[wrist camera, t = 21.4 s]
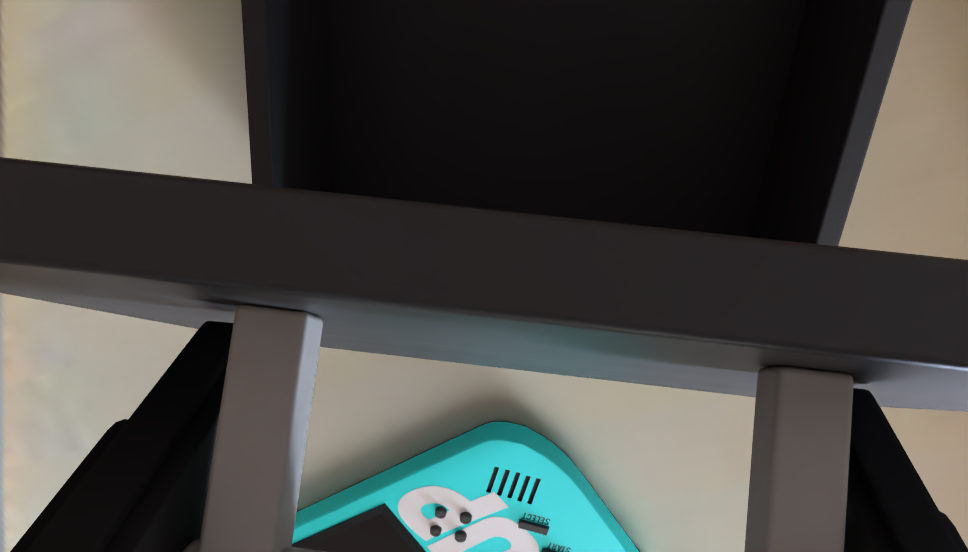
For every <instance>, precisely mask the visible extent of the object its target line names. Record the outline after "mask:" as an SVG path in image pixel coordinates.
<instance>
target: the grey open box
mask: <svg viewBox="0 0 968 552" xmlns="http://www.w3.org/2000/svg"><path fill="white" fill-rule="evenodd" d="M912 1H913V0H241V4H242V21H243V38H244V54H245V71H246V87H247V104H248V121H249V137H250V154H251V171H252V184H256V185H266V186H275V187H285V188H294V189H303V190H313V191H322V192H332V193H341V194H350V195H360V196H369V197H379V198H388V199H397V200H407V201H416V202H426V203H435V204H444V205H454V206H463V207H473V208H482V209H491V210H501V211H510V212H520V213H529V214H538V215H548V216H557V217H567V218H576V219H585V220H595V221H604V222H614V223H623V224H633V225H642V226H651V227H661V228H670V229H680V230H689V231H698V232H708V233H717V234H727V235H736V236H745V237H755V238H764V239H774V240H783V241H792V242H802V243H811V244H821V245H830V246H838V244H839V241H840V238H841V234H842V231H843V228H844V224H845V221H846V218H847V215H848V211H849V208H850V205H851V201H852V198H853V195H854V192H855V188H856V185H857V182H858V178H859V175H860V172H861V168H862V165H863V162H864V159H865V155H866V152H867V149H868V145H869V142H870V139H871V136H872V132H873V129H874V126H875V122H876V119H877V116H878V113H879V109H880V106H881V103H882V99H883V96H884V93H885V89H886V86H887V83H888V80H889V76H890V73H891V70H892V66H893V63H894V60H895V57H896V53H897V50H898V47H899V43H900V40H901V37H902V33H903V30H904V27H905V24H906V20H907V17H908V14H909V10H910V7H911V4H912Z"/></svg>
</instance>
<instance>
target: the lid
mask: <svg viewBox="0 0 968 552" xmlns="http://www.w3.org/2000/svg"><path fill="white" fill-rule="evenodd" d="M0 293H5V294H10V295H16V296H21V297H27V298H32V299H38V300H43V301H49V302H54V303H59V304H65V305H70V306H76V307H81V308H87V309H92V310H98V311H103V312H109V313H114V314H120V315H125V316H130V317H136V318H141V319H147V320H152V321H158V322H163V323H169V324H174V325H180V326H185V327H191V328H196V329H199V328H200V327H201V326H202V325H203V324H204V323H205V322H206V321H218V322H228V323H234V324H233V330H232V337H231V343H230V349H229V356H228V362H227V369H226V375H225V382H224V388H223V395H222V401H221V407H220V414H219V420H218V427H217V433H216V440H215V446H214V453H213V459H212V466H211V472H210V478H209V485H208V491H207V498H206V504H205V511H204V517H203V524H202V530H201V536H200V538H198V539H196V540H194V541H193V542H191V543H190V544H189V545H188V546H187V547H186V548H185V550H184V551H183V552H327V551H320V550H312V549H304V548H296V547H291V546H292V539H293V532H294V525H295V518H296V511H297V504H298V497H299V490H300V483H301V476H302V468H303V461H304V454H305V447H306V440H307V433H308V426H309V419H310V412H311V405H312V398H313V391H314V383H315V376H316V369H317V362H318V355H319V348H320V347H327V348H335V349H344V350H352V351H361V352H370V353H378V354H387V355H396V356H404V357H413V358H421V359H430V360H439V361H447V362H456V363H465V364H473V365H482V366H490V367H499V368H508V369H516V370H525V371H534V372H542V373H551V374H559V375H568V376H577V377H585V378H594V379H603V380H611V381H620V382H628V383H637V384H646V385H654V386H663V387H672V388H680V389H689V390H697V391H706V392H715V393H723V394H732V395H741V396H749V397H756V403H755V417H754V431H753V444H752V458H751V472H750V486H749V499H748V513H747V527H746V540H745V552H844V541H845V524H846V507H847V489H848V472H849V455H850V438H851V421H852V403H853V388H858V389H866V390H869V391H870V392H871V394H872V395H873V396H874V398H875V399H876V401H877V403H878V405H879V406H880V407H893V408H911V409H929V410H947V411H965V412H968V260H962V259H952V258H943V257H933V256H924V255H915V254H905V253H896V252H886V251H877V250H868V249H858V248H849V247H839V246H830V245H821V244H811V243H802V242H792V241H783V240H774V239H764V238H755V237H745V236H736V235H727V234H717V233H708V232H698V231H689V230H680V229H670V228H661V227H651V226H642V225H633V224H623V223H614V222H604V221H595V220H585V219H576V218H567V217H557V216H548V215H538V214H529V213H520V212H510V211H501V210H491V209H482V208H473V207H463V206H454V205H444V204H435V203H426V202H416V201H407V200H397V199H388V198H379V197H369V196H360V195H350V194H341V193H332V192H322V191H313V190H303V189H294V188H285V187H275V186H266V185H256V184H247V183H238V182H228V181H219V180H209V179H200V178H191V177H181V176H172V175H162V174H153V173H144V172H134V171H125V170H115V169H106V168H97V167H87V166H78V165H68V164H59V163H50V162H40V161H31V160H21V159H12V158H3V157H0Z"/></svg>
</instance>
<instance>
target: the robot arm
mask: <svg viewBox="0 0 968 552" xmlns="http://www.w3.org/2000/svg"><path fill="white" fill-rule="evenodd" d="M233 324H234V323H228V322H218V321H206V322H205V323H204V324H203V325H202V326H201V327H200V328H199V329H198V331H197V332H196V333H195V335H194V336H193V337H192V338H191V340H190V341H189V342H188V344H187V345H186V346H185V347H184V349H183V350H182V351H181V353H180V354H179V355H178V356H177V358H176V359H175V360H174V362H173V363H172V364H171V365H170V367H169V368H168V369H167V371H166V372H165V373H164V374H163V376H162V377H161V378H160V380H159V381H158V382H157V383H156V385H155V386H154V387H153V389H152V390H151V391H150V392H149V394H148V395H147V396H146V398H145V399H144V400H143V401H142V403H141V404H140V405H139V407H138V408H137V409H136V410H135V412H134V413H133V414H132V416H131V417H130V418H129V419H128V420H126V419H124V420H121V421H118V422H116V423H115V424H114V425H113V426H111V427H110V428H109V429H108V430H107V431H106V433H105V434H104V435H103V436H102V438H101V439H100V440H99V441H98V443H97V444H96V445H95V446H94V448H93V449H92V450H91V451H90V453H89V454H88V455H87V456H86V458H85V459H84V460H83V461H82V463H81V464H80V465H79V466H78V468H77V469H76V470H75V471H74V473H73V474H72V475H71V476H70V478H69V479H68V480H67V481H66V483H65V484H64V485H63V486H62V488H61V489H60V490H59V491H58V493H57V494H56V495H55V496H54V498H53V499H52V500H51V501H50V503H49V504H48V505H47V506H46V508H45V509H44V510H43V511H42V513H41V514H40V515H39V516H38V518H37V519H36V520H35V521H34V523H33V524H32V525H31V526H30V528H29V529H28V530H27V531H26V533H25V534H24V535H23V536H22V538H21V539H20V540H19V541H18V543H17V544H16V545H15V546H14V548H13V549H12V550H11V551H10V552H183V551H184V550H185V548H186V547H187V546H188V545H189V544H190V543H191V542H193V541H194V540H196V539H198V538H200V536H201V530H202V524H203V517H204V511H205V504H206V498H207V491H208V485H209V478H210V472H211V466H212V459H213V453H214V446H215V440H216V433H217V427H218V420H219V414H220V407H221V401H222V395H223V388H224V382H225V375H226V369H227V362H228V356H229V349H230V343H231V337H232V330H233ZM844 552H968V549H967V547H966V545H965V543H964V542H963V540H962V538H961V537H960V535H959V533H958V531H957V530H956V528H955V526H954V525H953V523H952V522H951V521H950V520H949V518H948V517H947V516H946V515H945V514H944V513H942V512H940V511H939V510H938V508H937V506H936V505H935V503H934V501H933V499H932V498H931V496H930V494H929V492H928V491H927V489H926V487H925V485H924V484H923V482H922V480H921V478H920V477H919V475H918V473H917V471H916V470H915V468H914V466H913V464H912V463H911V461H910V459H909V457H908V456H907V454H906V452H905V450H904V449H903V447H902V445H901V443H900V442H899V440H898V438H897V436H896V435H895V433H894V431H893V429H892V428H891V426H890V424H889V422H888V421H887V419H886V417H885V415H884V414H883V412H882V410H881V408H880V406H879V405H878V403H877V401H876V399H875V398H874V396H873V395H872V394H871V392H870V391H869V390H866V389H858V388H853V403H852V421H851V438H850V455H849V472H848V489H847V507H846V524H845V541H844Z"/></svg>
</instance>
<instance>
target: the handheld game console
mask: <svg viewBox="0 0 968 552" xmlns="http://www.w3.org/2000/svg"><path fill="white" fill-rule="evenodd" d="M291 547H296V548H304V549H312V550H320V551H327V552H639V550H638V549H637V548H636V546H635V545H634V544H633V542H632V541H631V540H630V538H629V537H628V536H627V534H626V533H625V531H624V530H623V529H622V527H621V526H620V525H619V523H618V522H617V521H616V519H615V518H614V517H613V515H612V514H611V512H610V511H609V510H608V508H607V507H606V506H605V504H604V503H603V502H602V500H601V499H600V497H599V496H598V495H597V493H596V492H595V491H594V489H593V488H592V487H591V485H590V484H589V483H588V481H587V480H586V478H585V477H584V476H583V474H582V473H581V472H580V470H579V469H578V468H577V467H576V466H575V464H574V463H573V462H572V461H571V460H570V458H569V457H567V456H566V455H565V454H564V453H563V452H562V451H561V450H560V449H559V448H558V447H557V446H555V445H554V444H553V443H552V442H550V441H549V440H548V439H546V438H545V437H543V436H541V435H540V434H538V433H536V432H534V431H533V430H531V429H529V428H528V427H526V426H522V425H518V424H513V423H508V422H491V423H487V424H484V425H481V426H479V427H477V428H475V429H473V430H471V431H469V432H467V433H464V434H462V435H460V436H458V437H456V438H454V439H452V440H449V441H447V442H445V443H443V444H441V445H439V446H437V447H434V448H432V449H430V450H428V451H426V452H424V453H422V454H419V455H417V456H415V457H413V458H411V459H409V460H407V461H405V462H402V463H400V464H398V465H396V466H394V467H392V468H390V469H388V470H385V471H383V472H381V473H379V474H377V475H375V476H373V477H371V478H368V479H366V480H364V481H362V482H360V483H358V484H356V485H354V486H351V487H349V488H347V489H345V490H343V491H341V492H339V493H337V494H334V495H332V496H330V497H328V498H326V499H324V500H322V501H320V502H317V503H315V504H313V505H311V506H309V507H307V508H305V509H302V510H300V511H298V512H296V518H295V525H294V532H293V539H292V546H291Z"/></svg>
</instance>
